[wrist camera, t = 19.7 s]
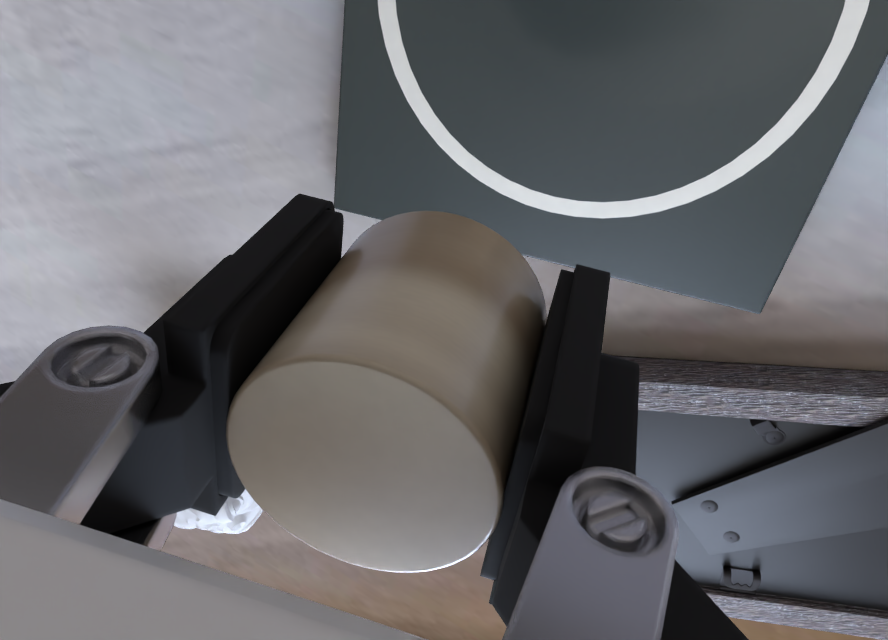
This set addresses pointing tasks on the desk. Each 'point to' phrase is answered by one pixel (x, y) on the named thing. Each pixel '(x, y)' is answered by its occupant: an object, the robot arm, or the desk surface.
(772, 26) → the slate board
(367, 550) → the beige cylinder
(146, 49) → the desk surface
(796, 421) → the picture frame
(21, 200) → the desk surface
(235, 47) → the desk surface
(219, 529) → the frog figurine
